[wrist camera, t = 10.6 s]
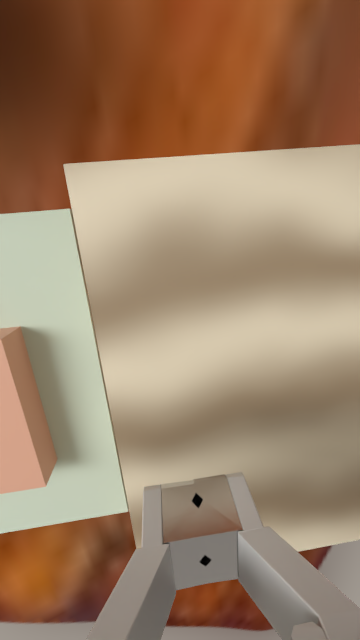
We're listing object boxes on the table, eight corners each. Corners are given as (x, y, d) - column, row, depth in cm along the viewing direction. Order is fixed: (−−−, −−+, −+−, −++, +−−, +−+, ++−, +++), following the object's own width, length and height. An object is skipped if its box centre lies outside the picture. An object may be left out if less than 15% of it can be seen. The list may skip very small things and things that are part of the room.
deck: (87, 186, 13) (63, 164, 9) (354, 166, 14) (428, 139, 11) (144, 515, 20) (142, 581, 16) (324, 484, 21) (364, 538, 17)
